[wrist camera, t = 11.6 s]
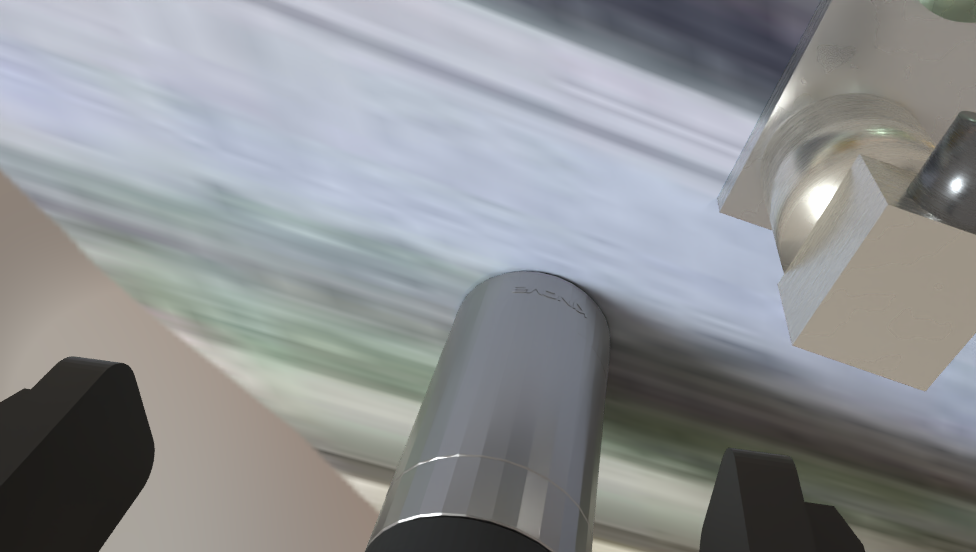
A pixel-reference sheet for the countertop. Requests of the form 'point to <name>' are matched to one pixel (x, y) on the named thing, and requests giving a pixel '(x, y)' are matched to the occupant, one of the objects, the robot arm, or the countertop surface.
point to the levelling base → (872, 185)
